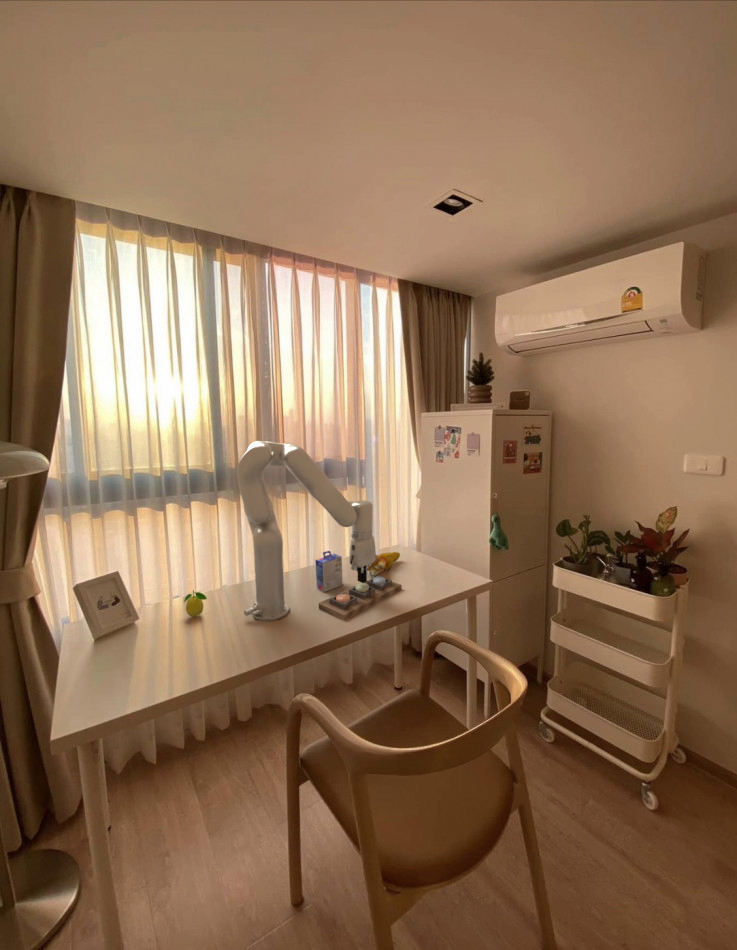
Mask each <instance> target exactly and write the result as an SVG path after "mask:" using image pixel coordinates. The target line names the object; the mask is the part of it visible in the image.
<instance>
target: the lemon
mask: <svg viewBox="0 0 737 950" xmlns="http://www.w3.org/2000/svg"><path fill="white" fill-rule="evenodd" d="M204 600H207V596H206V594H204V593H202V592H199V591H197V592H195V591H194V589H193V590H192V593H188V594H187V595H186V596H185V597H184V601H183V602H184V603H185V602H186V603H185V604H186V605H185V611H186V613H187V614H188V616H190V617H194V618H197V617H198V616H199V615H200V614H202V612H203V610H204Z"/></svg>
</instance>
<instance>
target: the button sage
mask: <svg viewBox="0 0 737 950" xmlns="http://www.w3.org/2000/svg"><path fill="white" fill-rule="evenodd" d="M355 589H356V591H357V592H359V593H362V594H363V593H365V592H367V591H369V585H368V584H365V583H362V582H359V583H357V584H355Z"/></svg>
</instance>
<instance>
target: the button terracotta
mask: <svg viewBox="0 0 737 950" xmlns="http://www.w3.org/2000/svg"><path fill="white" fill-rule="evenodd" d="M349 600H350V596H349V595H347V594H340V595H338V596H336V601H339V602H341V603H345V602H347V601H349Z"/></svg>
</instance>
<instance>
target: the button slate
mask: <svg viewBox="0 0 737 950" xmlns="http://www.w3.org/2000/svg"><path fill="white" fill-rule="evenodd" d="M375 577H376V576H375ZM382 577H383V576H381V577H376V578H374V579H373V583H376V584H379V585H381V584H383V583H385V582H386V579H385V577H384V578H382Z"/></svg>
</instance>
